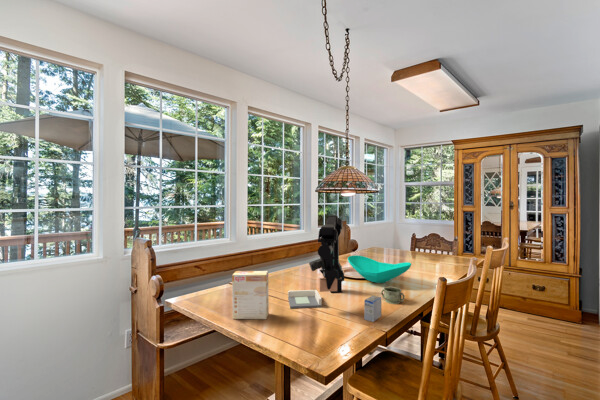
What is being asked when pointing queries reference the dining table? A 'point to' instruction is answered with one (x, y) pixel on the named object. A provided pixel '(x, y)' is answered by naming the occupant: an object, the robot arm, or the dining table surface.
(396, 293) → the vessel
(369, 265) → the table top decor
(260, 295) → the coffeecake box
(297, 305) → the tray
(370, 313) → the medicine box
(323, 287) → the terracotta block
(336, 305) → the dining table surface
